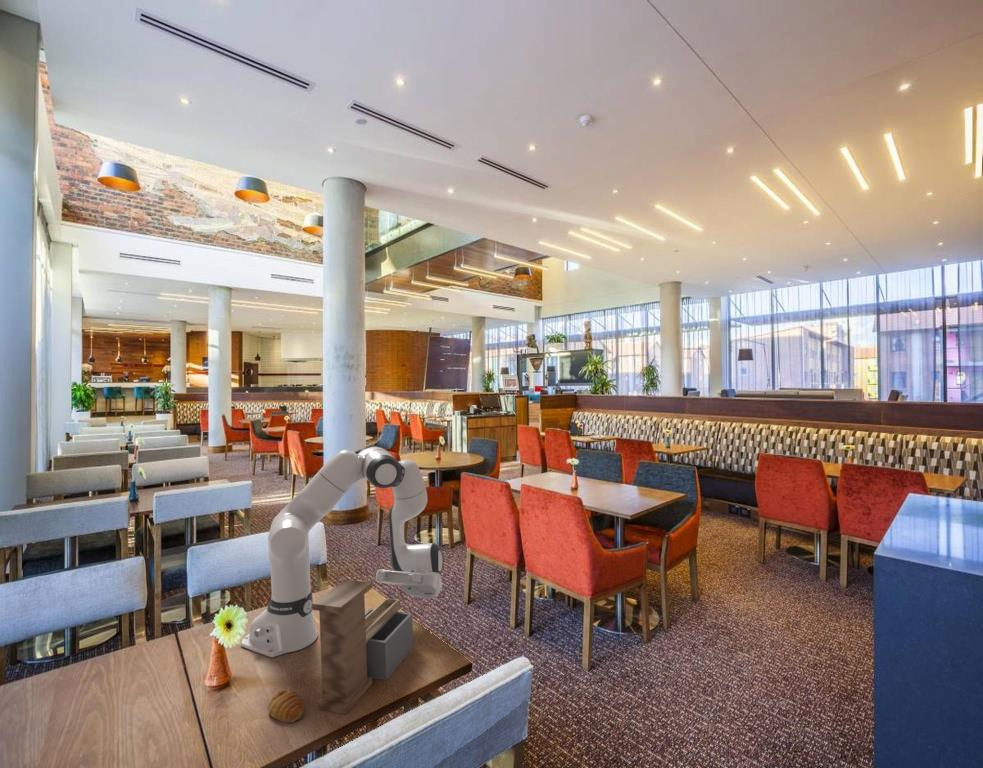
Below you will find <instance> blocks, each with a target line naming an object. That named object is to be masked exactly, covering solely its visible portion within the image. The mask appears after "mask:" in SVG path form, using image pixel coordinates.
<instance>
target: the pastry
mask: <svg viewBox="0 0 983 768" xmlns="http://www.w3.org/2000/svg"><path fill="white" fill-rule="evenodd" d="M267 710H268V711H269V715H270V716H271V717H272V718H273V719H275V720H276V721H280V722H283V723H294V722H296V721H297V720H299V719H301V717H303V714H304V713H305V707H304V702H303V701H302V698H301V697H300V695H298V694H297V692H296V691H294V690H291V691H290V690H288V689H282V690H280V691H278V692H277V693H276V694H275V695H274V696H273V697H272V698H271V699H270V701H269V704H268V705H267Z"/></svg>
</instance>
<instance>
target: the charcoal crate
mask: <svg viewBox="0 0 983 768" xmlns="http://www.w3.org/2000/svg"><path fill="white" fill-rule="evenodd" d="M374 609H375V608H369V609H368V610H367V611H365V617H366V616H367V615H368V614H369V613H370V612H372V611H373V610H374ZM413 629H414V627H413V613H410V612H401V611H398V612H397V613H396V614H395V615H394V616H393V617H392V618H391V619H390V620H389V621H388V622H387V623H386V624H385V625H384V626H383V627H382V628H381V629H380V630H379V631H378V632H377V633H376V634H375V635H374V636H373V637H372V638H371V639H370V640H369V641H368V642H367V643H366V656H367V677H372V679H375V680H383V681H387V680H388V679H389V678H390V677H391V675H392V674H393V673H394V671H395V670H397V668H398V667H399V665H400V664H401V663H402V662H403V660H404V659H405V658H406V657H407V655H408V654H409V653H410V652H411V651H412V650H413V648H414V634H413V633H414V632H413V631H414V630H413Z"/></svg>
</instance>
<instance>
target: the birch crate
mask: <svg viewBox="0 0 983 768" xmlns="http://www.w3.org/2000/svg"><path fill="white" fill-rule="evenodd" d="M400 604H401V602H400V598H392V597H386V598H385V599H383V601H381V602H380V603H379V604H378V605H377V606H375V608H373V609H374V610H373V611H372V612H370V613H369V614H368V615H367V616H366V617H365V628H366V643H367V642H368V641H369V640H370V639H371V638H372V637H373V636H374V635H375V634H376V633H377V632H378V631H379V630H380V629H381V628H382V627H383V626H384V625H385V624H386V623H387V622H388V621H389V620H390V619H391V618H392V617H393V616H394V615H395V614H396V613H397V612H400V610H401V605H400Z"/></svg>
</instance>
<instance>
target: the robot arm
mask: <svg viewBox="0 0 983 768" xmlns="http://www.w3.org/2000/svg"><path fill="white" fill-rule="evenodd" d="M363 479H365V480H366V481H368V483H369V484H370V485H371V486H373V487H374V488H378V489H388V488H391V489H392V495H393V498H394V501H393V502H394V503H393V505H392V506H391V508H390V509H389V513H388V525H389V526H388V527H389V539H390V540H389V541H390V565H391V568H392V570H388V569H378V570H377V572H376V575H375V581H376V582H378V583H382V584H385V585H386V584H387V585H394V586H395V585H396V586H400V587H401V590H402V592H403V593H405V594H406V595H408V596H410V597H411V596H412V597H415V598H420V599H424V600H431V599H433V598H435V597H437V596H438V595H439V594H440V593H441V591H442V587H443V582H442V578H441V575H442V572H443V569H444V563H445V562H444V561H445V560H444V559H445V558H444V553H443V551H442V550H441V548H440V546H439V545H438V544H436V543H435V542H432V543H431V542H430V543H420V544H419V543H418V544H417V543H416V544H408V543H407V542H406V541H405V529H404V524H405V523H406V522H407V521H410V520H412V519H414V518H416V517H417V516H418V515H420V514H421V513H422V512H423V511H424V510H425V508H426V507H427V504H428V492H427V488H426V483H425V481H424V478H423V475H422V471H421V470H420V467H419V466H418V464H417V463H416V461H414V460H413V459H401V460H397V459H396V458H395V457H394V456H393V455H392V454H391V452H389V451H388V450H386V449H385V448H384V447H382V446H379V445H374V444H373V445H368V446H366V447H365V446H364V447H363V448H362V449H359V450H357V451H355V452H354V451H352V450H351V449H350V450H349V449H343V450H340V451H339V452H337V453H336V454H335V455H334V456H332V457H331V458H330V459H329V460H328V461H327V462H325V464H324V465H323V466H322V467H321V468H320V469H319V470H318V472H316V474H315V475H313V477H312V478H311V479H310V480H309V481H308V483H306V485H305V486H304V487H303V488H302V489H301V490H300V491H299V492H298V493H297V494H296V495H295V496H294V497H293V498H292V499H291V500H290V501H289V502H288V503H287V504H286V505H285V506H284V507H283V508H282V509H281V510H280V511H279V512H278V513H277V514H276V516H274V518H273V519H272V522H271V525H270V529H269V533H268V537H267V538H268V539H267V544H268V558H269V560H268V561H269V569H270V583H271V587H270V588H271V589H270V590H271V595H270V596H269V597H267V599H265V600H264V605H266V604H268V605H267V608H266V609H264V610H263V611H262V612H261V613H260V614H259V615H257V616H256V617H255V618H254V619H253V620H252V622H251V623H250V626H249V633H248V634H246V635H245V636H244V637H243V638H242V640H241V641H240V646H241V647H242V648H245V649H248V650H250V651H253V652H255V653H258V654H261V655H264V656H266V657H269V658H275V657H278V656H281V655H283V654H287V653H292V652H297V651H299V650H302V649H304V648H306V647H308V646H310V645H311V644H313V643H314V642H315V641H316V640H317V638H318V636H319V634H318V630H317V627H316V622H315V618H314V614H313V613H314V612H313V610H312V603H314V602H313V601H314V600H313V590H312V589H311V569H310V568H311V566H310V565H311V564H310V542H309V541H310V539H309V538H310V537H309V533H310V531H311V529H312V528H313V527H315V525H316V524H318V522H320V520H322V519H323V518H324V517H325V516H327V515H328V514H330V512H331V511H332V510H333V509H334V508H335V507H336V505H338V503H339V502H340V501H341V500H342V498H343V497H344V496H345V495H346V494H347V492H348V491H349V490H350V488H352V486H353V485H354V484H356V483H357V482H359V481H360V480H363Z"/></svg>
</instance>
